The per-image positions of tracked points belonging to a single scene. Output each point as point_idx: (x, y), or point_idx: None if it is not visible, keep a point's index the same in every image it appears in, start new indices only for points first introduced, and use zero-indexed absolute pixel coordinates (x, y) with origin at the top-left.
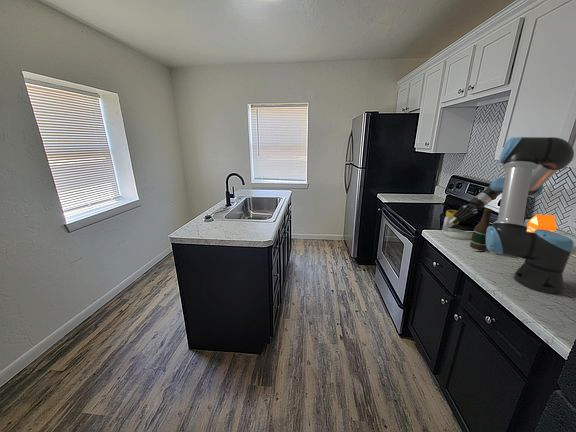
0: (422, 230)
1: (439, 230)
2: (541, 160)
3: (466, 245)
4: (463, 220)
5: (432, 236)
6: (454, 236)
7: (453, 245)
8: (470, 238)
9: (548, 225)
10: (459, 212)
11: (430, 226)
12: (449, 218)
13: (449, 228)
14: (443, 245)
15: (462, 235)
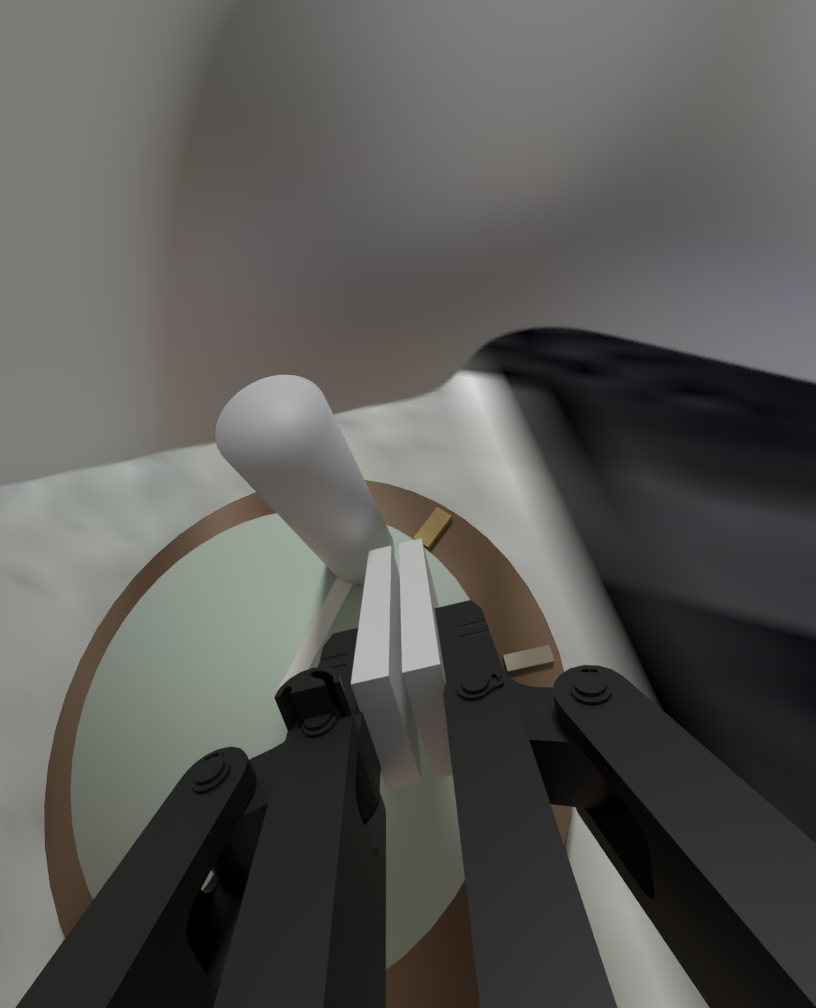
0: (465, 371)
1: (438, 518)
2: None
3: (23, 731)
4: (215, 884)
5: None
6: (135, 611)
7: (45, 571)
8: None
9: None
10: (586, 922)
11: (701, 483)
12: (225, 455)
13: None
14: (57, 477)
15: (157, 755)
